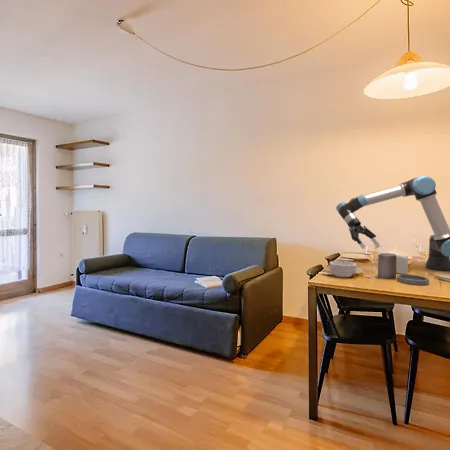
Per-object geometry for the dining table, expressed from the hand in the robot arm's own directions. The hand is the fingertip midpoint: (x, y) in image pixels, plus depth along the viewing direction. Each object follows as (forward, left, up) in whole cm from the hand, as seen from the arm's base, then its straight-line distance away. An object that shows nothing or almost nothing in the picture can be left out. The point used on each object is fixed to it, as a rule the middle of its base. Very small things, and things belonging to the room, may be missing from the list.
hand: (371, 247), depth 194 cm
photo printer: (-19, -1, -17) cm, 25 cm away
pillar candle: (-5, +10, -17) cm, 20 cm away
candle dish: (-13, +22, -17) cm, 30 cm away
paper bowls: (+20, +6, -17) cm, 27 cm away
